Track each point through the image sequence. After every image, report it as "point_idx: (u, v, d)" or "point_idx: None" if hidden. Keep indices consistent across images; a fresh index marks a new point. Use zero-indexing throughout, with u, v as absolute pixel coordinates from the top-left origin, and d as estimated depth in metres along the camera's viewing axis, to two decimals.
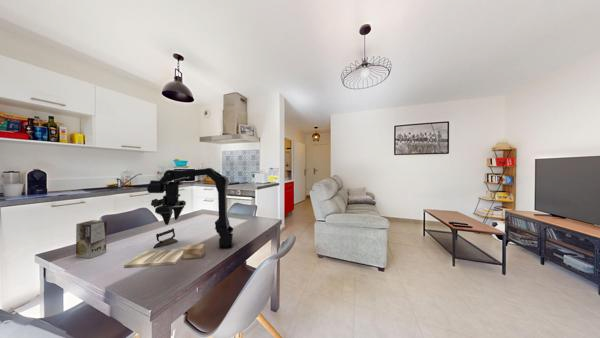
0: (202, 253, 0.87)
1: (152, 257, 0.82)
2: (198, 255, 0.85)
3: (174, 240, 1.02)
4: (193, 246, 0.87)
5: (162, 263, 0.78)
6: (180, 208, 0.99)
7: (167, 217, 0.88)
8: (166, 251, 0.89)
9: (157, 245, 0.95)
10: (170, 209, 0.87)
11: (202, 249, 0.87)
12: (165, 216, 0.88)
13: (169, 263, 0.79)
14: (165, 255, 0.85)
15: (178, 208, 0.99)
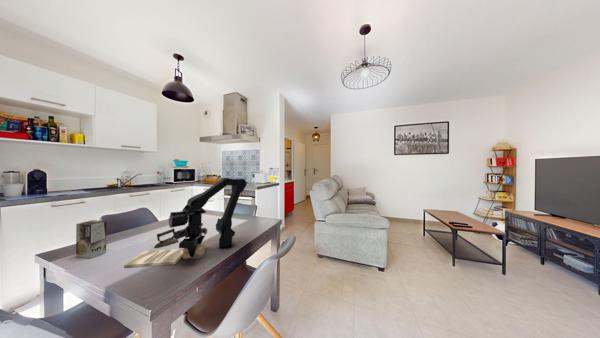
0: (202, 253, 0.87)
1: (152, 257, 0.82)
2: (198, 255, 0.85)
3: (175, 240, 1.02)
4: None
5: (162, 263, 0.78)
6: (201, 239, 0.90)
7: (193, 249, 0.83)
8: (166, 251, 0.89)
9: (158, 245, 0.95)
10: (195, 243, 0.80)
11: (202, 249, 0.87)
12: (190, 248, 0.83)
13: (169, 263, 0.79)
14: (165, 255, 0.85)
15: (199, 239, 0.90)
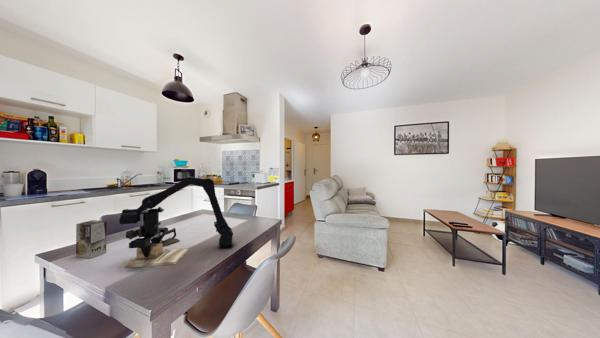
0: (158, 253, 0.83)
1: None
2: (153, 255, 0.81)
3: (176, 240, 1.02)
4: None
5: (162, 263, 0.78)
6: (159, 238, 0.87)
7: (147, 249, 0.80)
8: (166, 251, 0.89)
9: None
10: (147, 243, 0.76)
11: (158, 249, 0.83)
12: (144, 248, 0.79)
13: (169, 263, 0.79)
14: (165, 255, 0.85)
15: (156, 238, 0.87)
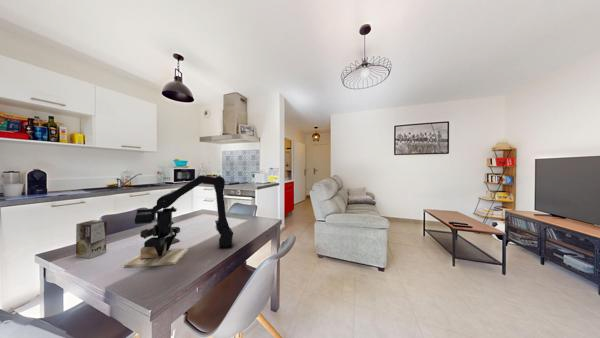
0: None
1: None
2: (157, 255, 0.82)
3: (176, 240, 1.02)
4: None
5: (162, 263, 0.78)
6: (172, 238, 0.88)
7: (161, 248, 0.81)
8: (166, 251, 0.89)
9: None
10: (161, 242, 0.77)
11: None
12: (158, 247, 0.80)
13: (169, 263, 0.79)
14: (165, 255, 0.85)
15: (169, 238, 0.88)
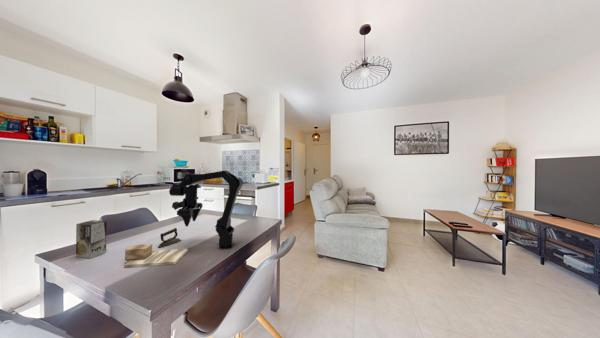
0: (147, 254, 0.82)
1: (152, 257, 0.82)
2: (142, 256, 0.80)
3: (177, 239, 1.03)
4: (138, 246, 0.83)
5: (162, 263, 0.78)
6: (198, 210, 1.04)
7: (187, 219, 0.93)
8: (166, 251, 0.89)
9: (162, 245, 0.96)
10: (191, 211, 0.91)
11: (147, 249, 0.82)
12: (185, 218, 0.93)
13: (169, 263, 0.79)
14: (165, 255, 0.85)
15: (196, 210, 1.03)
